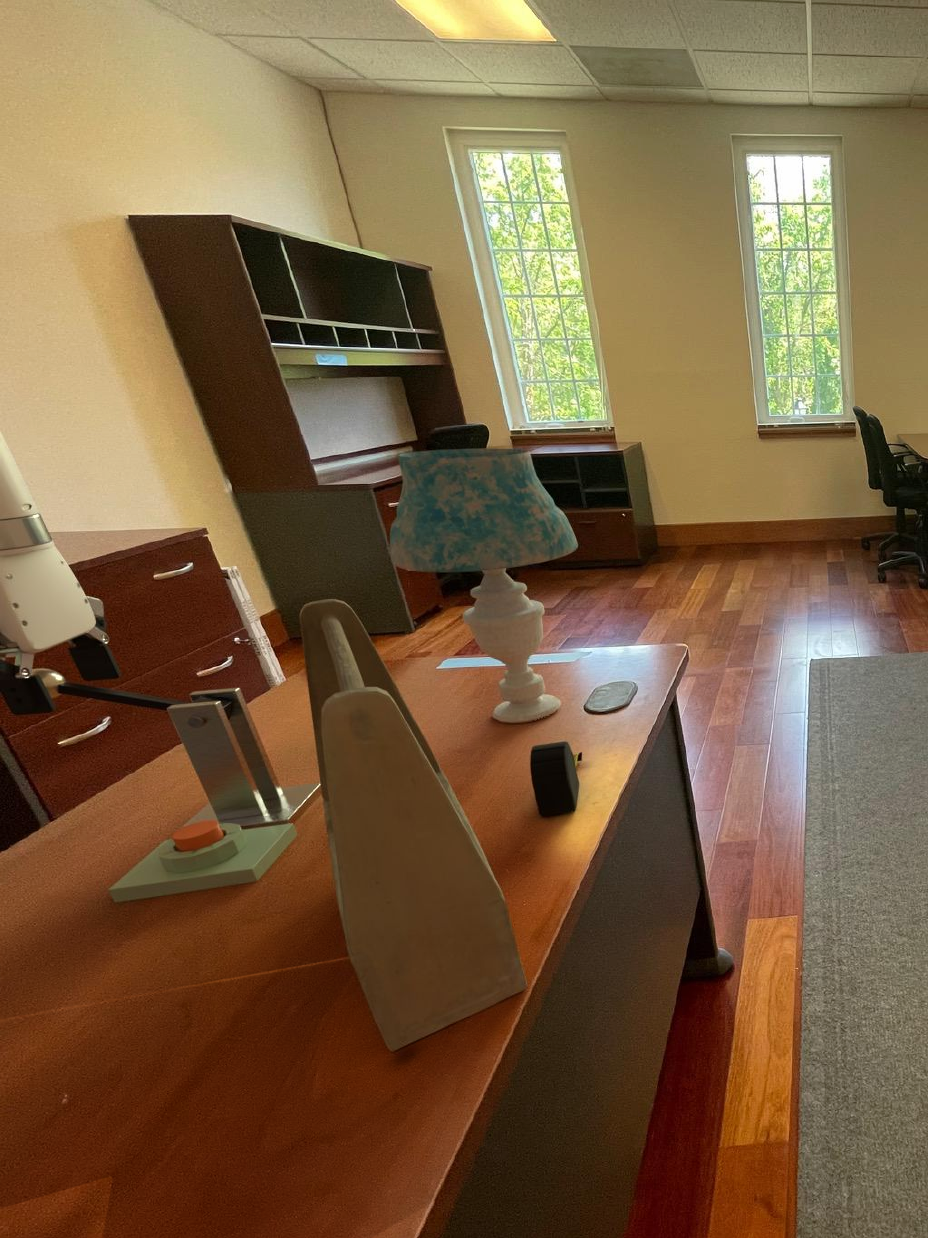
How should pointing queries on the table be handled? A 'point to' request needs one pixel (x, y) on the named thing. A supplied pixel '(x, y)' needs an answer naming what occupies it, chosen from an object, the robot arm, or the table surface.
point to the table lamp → (486, 552)
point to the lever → (112, 693)
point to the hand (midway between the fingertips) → (71, 695)
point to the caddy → (400, 846)
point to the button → (197, 835)
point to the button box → (205, 863)
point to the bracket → (235, 765)
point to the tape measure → (554, 778)
